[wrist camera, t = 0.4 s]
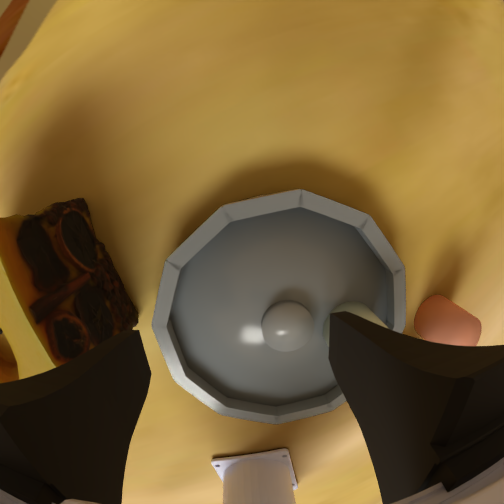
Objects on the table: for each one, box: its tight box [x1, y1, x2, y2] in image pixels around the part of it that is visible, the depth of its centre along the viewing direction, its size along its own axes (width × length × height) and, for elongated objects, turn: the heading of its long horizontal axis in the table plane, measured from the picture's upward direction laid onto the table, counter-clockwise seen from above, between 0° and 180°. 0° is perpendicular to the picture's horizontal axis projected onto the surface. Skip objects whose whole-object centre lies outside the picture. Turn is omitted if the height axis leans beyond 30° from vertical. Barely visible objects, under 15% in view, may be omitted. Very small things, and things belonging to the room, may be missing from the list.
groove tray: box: [152, 189, 406, 424], centre depth 20 cm, size 18×18×2 cm
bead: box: [414, 295, 481, 346], centre depth 19 cm, size 4×4×5 cm
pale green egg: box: [323, 301, 389, 347], centre depth 18 cm, size 4×4×5 cm
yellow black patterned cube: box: [0, 198, 139, 383], centre depth 15 cm, size 10×10×10 cm
